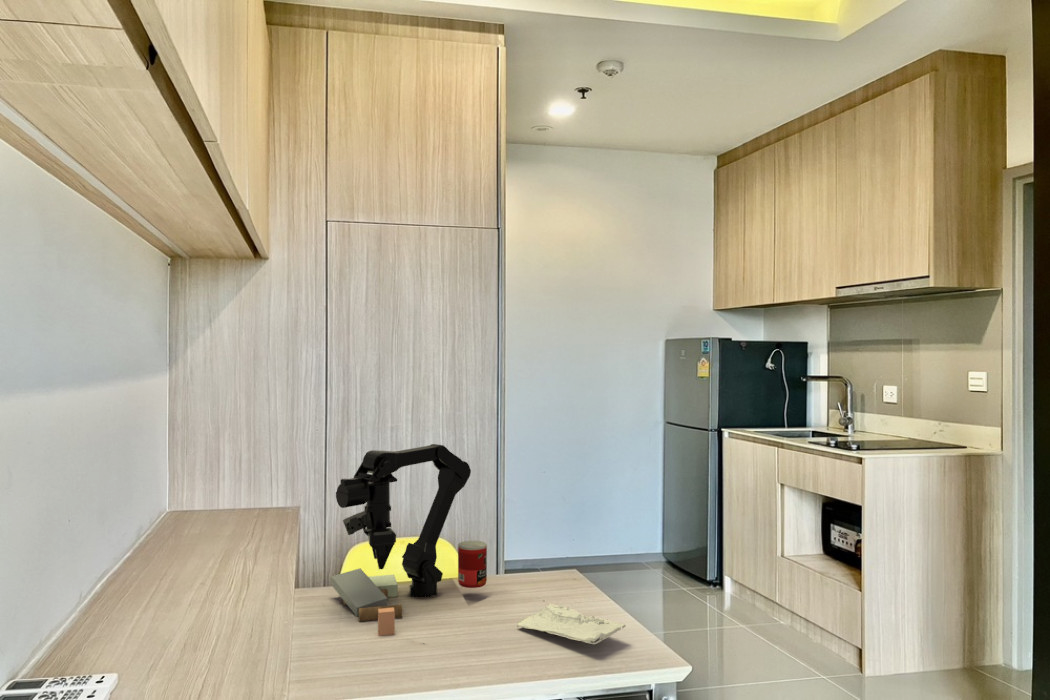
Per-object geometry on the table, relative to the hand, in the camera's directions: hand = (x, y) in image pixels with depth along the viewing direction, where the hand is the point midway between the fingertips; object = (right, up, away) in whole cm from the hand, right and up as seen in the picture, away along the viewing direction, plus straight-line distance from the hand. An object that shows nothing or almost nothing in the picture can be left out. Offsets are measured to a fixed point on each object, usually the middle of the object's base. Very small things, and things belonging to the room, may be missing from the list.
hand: (378, 563), depth 177 cm
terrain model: (+47, -12, -12) cm, 50 cm away
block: (-3, -11, +11) cm, 16 cm away
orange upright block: (+5, -11, -17) cm, 21 cm away
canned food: (+22, -11, +18) cm, 31 cm away
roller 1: (-5, -9, +5) cm, 11 cm away
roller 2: (+2, -11, -9) cm, 14 cm away
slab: (-6, -9, +2) cm, 10 cm away
